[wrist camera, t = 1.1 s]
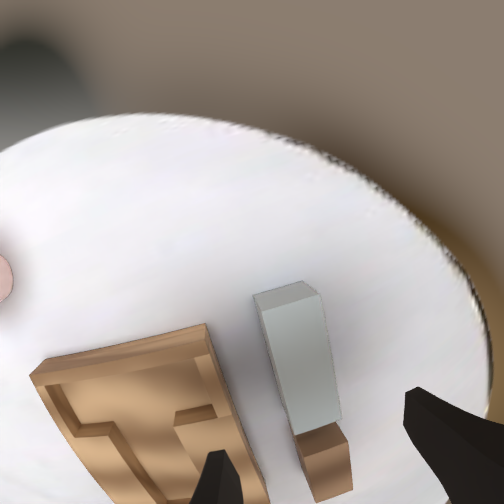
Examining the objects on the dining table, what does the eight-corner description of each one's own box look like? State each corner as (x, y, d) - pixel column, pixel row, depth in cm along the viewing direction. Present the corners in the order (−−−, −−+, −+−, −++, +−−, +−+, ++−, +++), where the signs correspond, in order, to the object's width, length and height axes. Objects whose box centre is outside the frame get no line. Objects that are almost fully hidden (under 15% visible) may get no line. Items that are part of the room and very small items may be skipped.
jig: (265, 482, 24) (270, 503, 21) (134, 501, 23) (131, 520, 20) (205, 323, 21) (204, 339, 18) (45, 359, 20) (29, 375, 17)
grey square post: (301, 280, 22) (319, 293, 18) (324, 392, 24) (341, 418, 20) (252, 294, 22) (261, 311, 18) (283, 406, 23) (294, 435, 19)
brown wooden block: (334, 456, 25) (353, 489, 20) (301, 467, 24) (315, 503, 19) (326, 406, 24) (347, 441, 19) (288, 419, 23) (303, 457, 18)
